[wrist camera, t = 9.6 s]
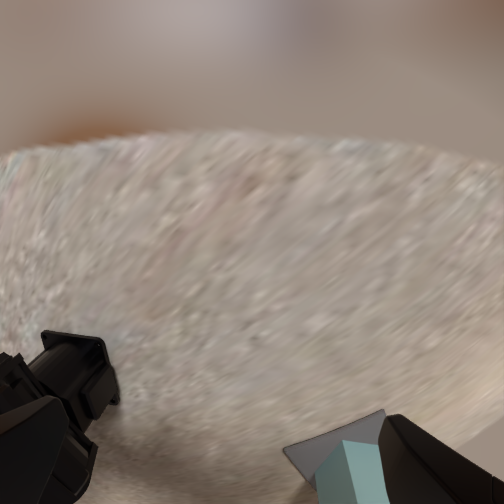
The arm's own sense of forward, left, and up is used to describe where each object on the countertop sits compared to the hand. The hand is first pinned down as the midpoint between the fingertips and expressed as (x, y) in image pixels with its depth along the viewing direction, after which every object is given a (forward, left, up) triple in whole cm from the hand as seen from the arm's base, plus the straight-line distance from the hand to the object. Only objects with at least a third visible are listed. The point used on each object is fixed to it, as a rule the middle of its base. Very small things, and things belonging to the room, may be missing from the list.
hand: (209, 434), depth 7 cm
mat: (+9, -18, -13) cm, 24 cm away
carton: (+9, -18, -13) cm, 23 cm away
